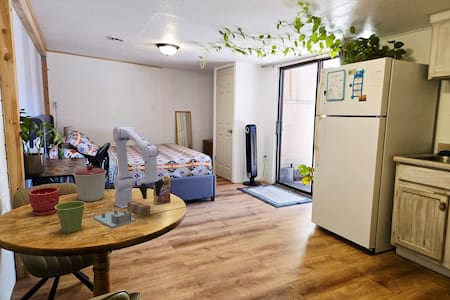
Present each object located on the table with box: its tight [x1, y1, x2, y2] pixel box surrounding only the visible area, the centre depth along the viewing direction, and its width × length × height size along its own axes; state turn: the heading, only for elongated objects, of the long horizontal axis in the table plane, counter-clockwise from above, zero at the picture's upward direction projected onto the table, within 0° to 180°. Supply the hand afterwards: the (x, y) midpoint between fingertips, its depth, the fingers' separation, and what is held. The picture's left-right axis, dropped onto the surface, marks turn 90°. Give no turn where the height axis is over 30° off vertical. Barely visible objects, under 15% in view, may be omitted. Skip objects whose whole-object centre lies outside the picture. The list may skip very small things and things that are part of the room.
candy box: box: [152, 175, 171, 206], centre depth 158 cm, size 9×4×15 cm, turn 123°
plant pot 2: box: [54, 200, 87, 234], centre depth 120 cm, size 12×12×11 cm
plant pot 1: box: [28, 186, 60, 216], centre depth 141 cm, size 13×13×12 cm
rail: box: [127, 200, 151, 218], centre depth 142 cm, size 14×4×5 cm, turn 50°
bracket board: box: [92, 209, 137, 229], centre depth 132 cm, size 18×12×4 cm, turn 50°
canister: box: [72, 164, 107, 203], centre depth 164 cm, size 18×18×21 cm
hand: (151, 197), depth 137 cm, fingers open, 7 cm apart
